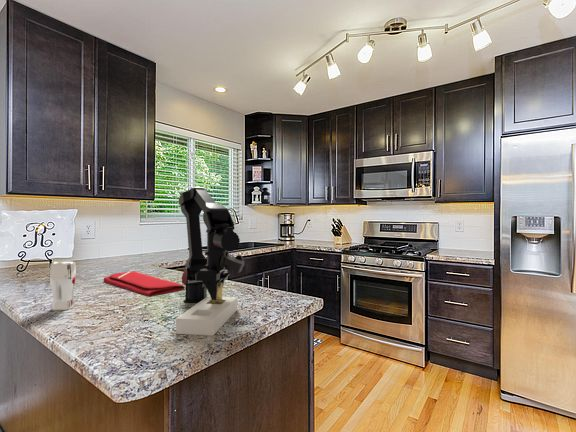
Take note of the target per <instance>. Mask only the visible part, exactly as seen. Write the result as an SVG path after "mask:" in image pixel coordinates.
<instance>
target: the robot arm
mask: <svg viewBox="0 0 576 432" xmlns="http://www.w3.org/2000/svg"><path fill="white" fill-rule="evenodd" d="M178 205H179V207H180V211H181V213H182V214H183V215H184V216H185V218H186V219H185V220H186V232H187V243H188V259H187V260H186V262H185V265H184V266H185V268H184V270H183V273H182V275H181V283H182V284H181V285H183V286H185V294H184V295H185V299H184V300H182V301H183V302H184V303H199V302H200V301H202V300H203V299H205V298H206V297H208V294H209V297H211V298H212V300H216V297H217V291H218V284H219V282H222V289H223V287H224V283H225V281H226V279H227V278H228V276H230V275H231V272H233V273H235V274H240V273H241V272H242V271H243V268H244V266H245V262H246V261H245V260H244V256H243V255H241V254H237V256H231V255H230V252H234V251H235V250H236V249H238V247H239V246H240V242H241V239H240V237H239V235H238V233H237V232H235V231H234V230H235V223H234V220H233V218H232V215H231V212H230V211H229V209H228V208H227V207H225V206H224V205H221V204H219V203H217V202H216V201H215V200H214V198H213V197H212V196H211V195H210V193H208V189H207V188H205V187H204V186H201V187H200V186H192V187H191V188H189V189H188V190H186V191H183V192H182V193H181V194H180V196H179V197H178ZM201 212H203V214H202V219H203V222H204V225H205V226H206V230H205V232H206V238H207V239H206V244H207V245H206V251H204V252H203V243H202V232H201V220H200V215H201ZM206 256H207V257H206ZM227 271H229V272H227ZM207 293H208V294H207Z"/></svg>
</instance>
